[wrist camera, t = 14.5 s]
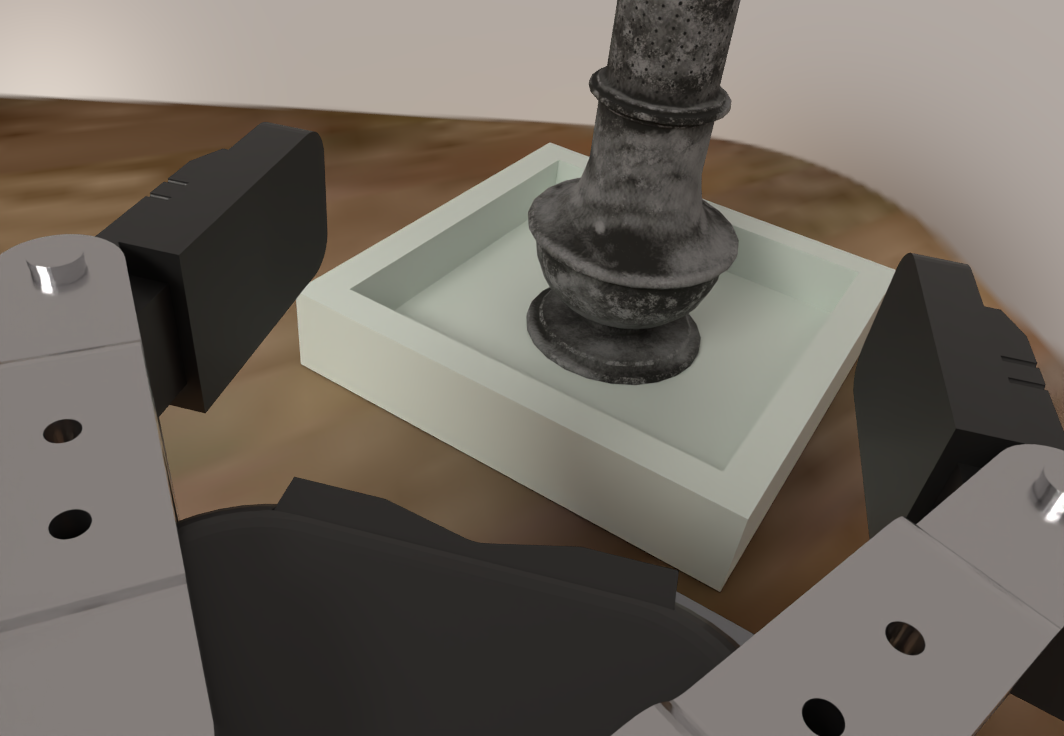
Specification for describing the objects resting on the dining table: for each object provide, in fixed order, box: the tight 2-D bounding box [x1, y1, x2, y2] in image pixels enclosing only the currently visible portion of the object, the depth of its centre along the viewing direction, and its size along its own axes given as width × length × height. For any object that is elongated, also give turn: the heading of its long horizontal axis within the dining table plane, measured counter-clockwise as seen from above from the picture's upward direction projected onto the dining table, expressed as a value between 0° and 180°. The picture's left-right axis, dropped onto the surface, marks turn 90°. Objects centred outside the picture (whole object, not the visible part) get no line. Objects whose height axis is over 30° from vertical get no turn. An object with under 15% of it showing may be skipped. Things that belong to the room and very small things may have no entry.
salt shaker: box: [526, 0, 740, 385], centre depth 23 cm, size 6×6×12 cm
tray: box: [296, 143, 896, 592], centre depth 26 cm, size 13×13×2 cm
